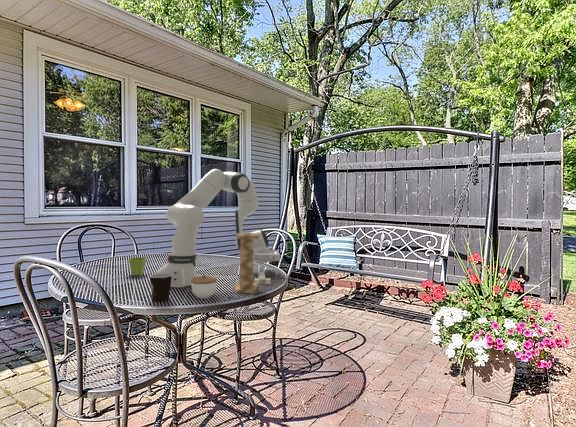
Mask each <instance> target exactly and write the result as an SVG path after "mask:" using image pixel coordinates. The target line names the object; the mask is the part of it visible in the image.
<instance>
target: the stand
mask: <svg viewBox="0 0 576 427" xmlns="http://www.w3.org/2000/svg"><path fill="white" fill-rule="evenodd" d="M236 239H241V245H240V250H239V252H240V253H239V255H240V256H239V259H240V260H239V283H235V287H234V293H235V294H257V293H258V284H255V283H254V261H253V258H254V249H255V248H254V239H258V233H254V232H253V233H250V232H243V233H237V234H236V235H235V240H236Z"/></svg>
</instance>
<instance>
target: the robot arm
mask: <svg viewBox="0 0 576 427" xmlns="http://www.w3.org/2000/svg"><path fill="white" fill-rule="evenodd" d="M220 191H225V192H227V193H235V194H236V196H237V200H238V207H237V208H236V209H235V211H234V216H235V217H234V219H235V233H236V234H237V233H244V232H243V231H244V227H243V226H244V225H243V222H244V220H245V219H247V217H249V216H251V214H253V213H254V212H256V210H257V209H258V208H259V197H258V193H257V190H256V187H255V185H254V182H253V181H252V180H251V179H250V178H248V176H247V175H246V174H245V173H242V172H236V171H222V170H221V169H218V168H213V169H211V170H209V172H207V173H206V174H205V175H203V177H202V178H201V179H200V180H199V181H198V182H197V183H196V184H195V186H193V188H192V189H191V190H190V191H189V192H187V193H186V194H185V195H184V196H183V197H181V199H179V200H178V201H177V202H175V203H174V204H173V205H171V206H170V207H168V208H167V211H166V219H167V221H169V223H171V224H172V225H174V226H176V231H175V233H174V236H173V237H172V242H171V243H172V245H171V247H172V252H171V253H170V254H169V255H168V256H167V263H166V264H164V265H163V266H162V267H160V268H158V270H156V273H155V274H161V273H165V274H171V275H172V279H171V286H170V288H185V287H188V286H190V287H191V279H192V278H194V277H198V275H197V267H196V266H197V259H198V258H197V254H196V251H197V250H196V247H197V245H196V243H197V242H196V241H197V237H198V236H197V235H198V232H199V228H200V226H201V224H202V223H203V221H204V219H205V218H204V216H205V215H204V211H203V210H202V209H205V208H206V207H208V206H209V205H210V203H211V202H212V201H213V200H214V199H215V197H216V196H217V195H218V194H219V193H220ZM249 233H258V239H254V258H253V262H257V263H259V264H265V263H269V262H280V261H281V253H280V252H279V251H277V249H271V248H268V247H269V239H268V236H267V233H266V232H265V231H264V230H262V229H258V230H254V231H251V232H249ZM235 245H236V247H237V250H239V251H240V245H241V239H236V238H235ZM149 286H151V282H149Z"/></svg>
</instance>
